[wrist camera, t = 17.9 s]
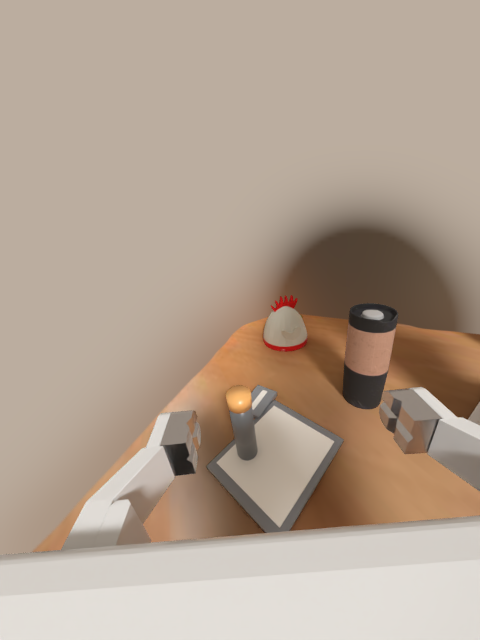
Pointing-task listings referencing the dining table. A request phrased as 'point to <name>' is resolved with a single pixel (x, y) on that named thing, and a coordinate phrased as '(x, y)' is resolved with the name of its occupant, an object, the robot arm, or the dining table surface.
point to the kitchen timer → (285, 327)
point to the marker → (242, 421)
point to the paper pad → (277, 467)
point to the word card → (261, 400)
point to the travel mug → (368, 353)
